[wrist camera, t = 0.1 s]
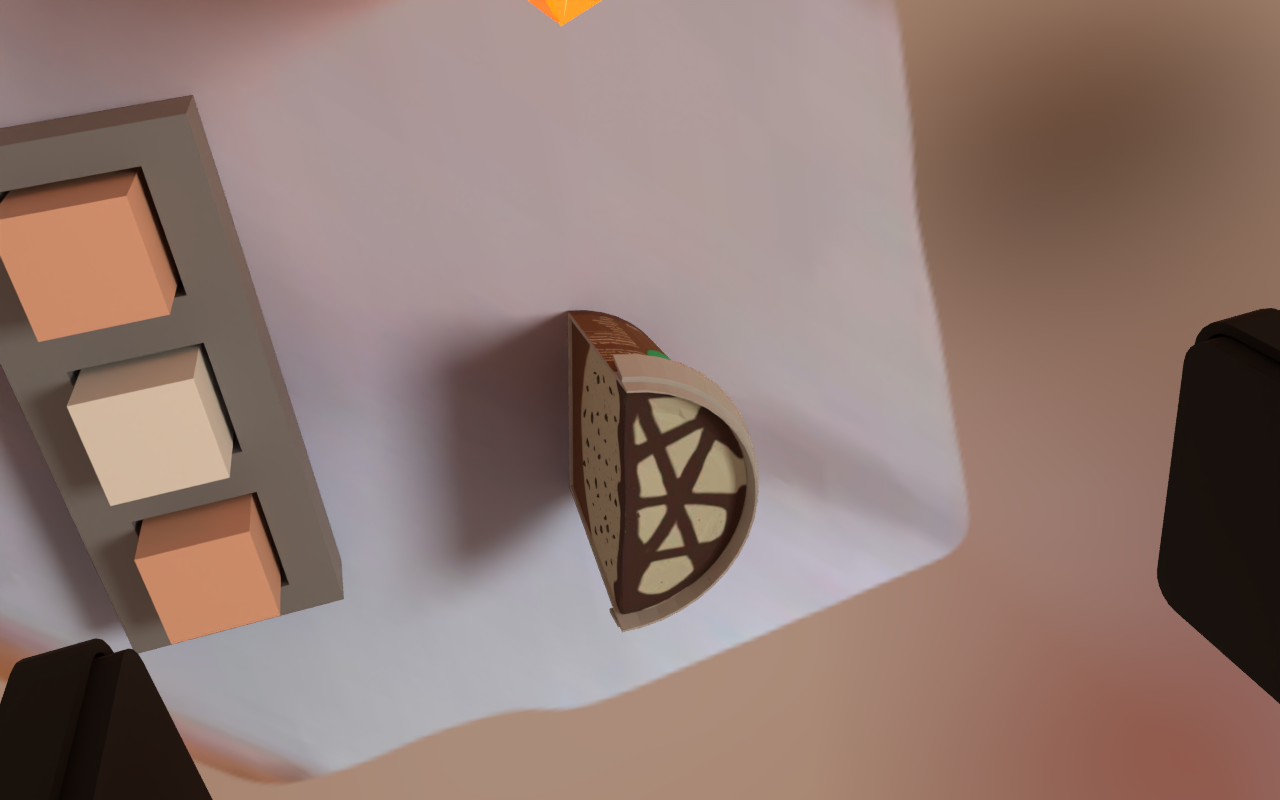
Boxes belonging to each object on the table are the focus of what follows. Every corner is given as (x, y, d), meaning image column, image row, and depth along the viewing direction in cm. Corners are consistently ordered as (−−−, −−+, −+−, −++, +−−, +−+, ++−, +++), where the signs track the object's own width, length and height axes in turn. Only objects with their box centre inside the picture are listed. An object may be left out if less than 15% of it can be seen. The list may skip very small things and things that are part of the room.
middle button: (84, 359, 42) (66, 406, 39) (201, 334, 43) (193, 378, 39) (124, 453, 44) (110, 506, 41) (234, 428, 45) (229, 477, 42)
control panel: (-68, 140, 38) (-93, 162, 36) (192, 95, 40) (186, 113, 37) (143, 611, 49) (135, 654, 47) (341, 560, 51) (343, 598, 48)
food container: (687, 496, 55) (759, 618, 46) (569, 512, 53) (622, 642, 45) (699, 268, 49) (783, 361, 41) (567, 279, 48) (627, 378, 39)
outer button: (146, 505, 45) (134, 560, 42) (252, 479, 46) (249, 531, 43) (179, 586, 48) (171, 644, 44) (280, 560, 48) (280, 615, 45)
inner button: (12, 187, 38) (-15, 222, 35) (140, 163, 39) (126, 195, 36) (59, 298, 41) (38, 342, 37) (180, 274, 41) (169, 314, 38)
